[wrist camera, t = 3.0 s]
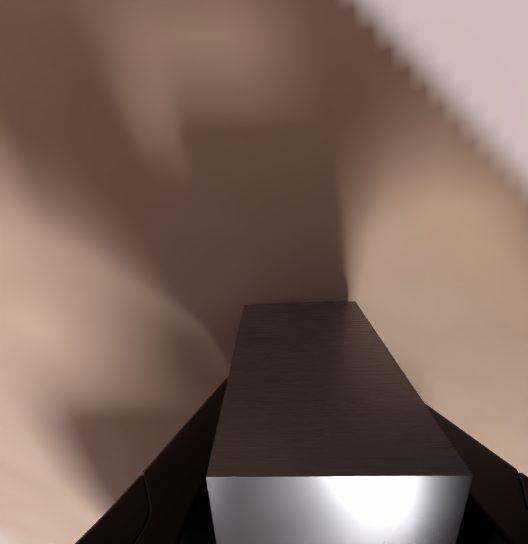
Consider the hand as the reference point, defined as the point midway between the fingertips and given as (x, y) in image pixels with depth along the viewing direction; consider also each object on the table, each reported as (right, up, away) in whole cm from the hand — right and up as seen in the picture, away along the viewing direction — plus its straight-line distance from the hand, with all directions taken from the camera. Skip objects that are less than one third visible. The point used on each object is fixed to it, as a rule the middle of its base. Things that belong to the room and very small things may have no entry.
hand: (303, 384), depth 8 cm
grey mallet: (0, -4, +2) cm, 4 cm away
